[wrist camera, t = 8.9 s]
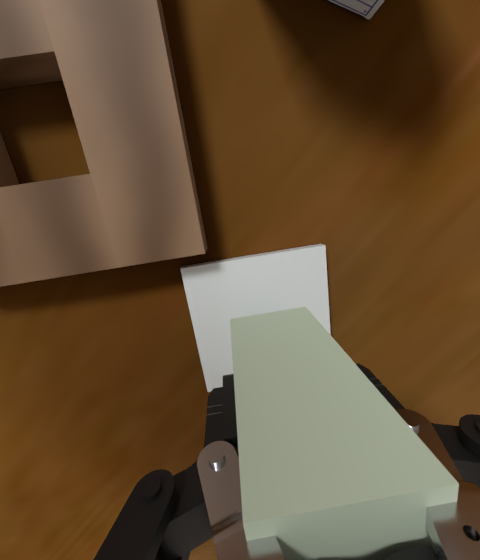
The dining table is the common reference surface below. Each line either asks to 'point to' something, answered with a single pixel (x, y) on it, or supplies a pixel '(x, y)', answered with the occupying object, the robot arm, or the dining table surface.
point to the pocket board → (99, 142)
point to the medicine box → (360, 6)
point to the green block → (325, 447)
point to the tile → (251, 297)
